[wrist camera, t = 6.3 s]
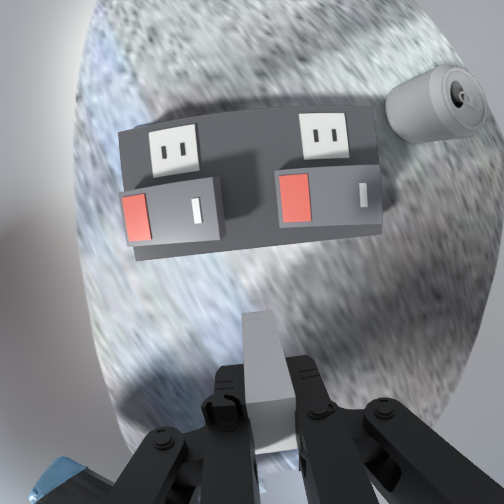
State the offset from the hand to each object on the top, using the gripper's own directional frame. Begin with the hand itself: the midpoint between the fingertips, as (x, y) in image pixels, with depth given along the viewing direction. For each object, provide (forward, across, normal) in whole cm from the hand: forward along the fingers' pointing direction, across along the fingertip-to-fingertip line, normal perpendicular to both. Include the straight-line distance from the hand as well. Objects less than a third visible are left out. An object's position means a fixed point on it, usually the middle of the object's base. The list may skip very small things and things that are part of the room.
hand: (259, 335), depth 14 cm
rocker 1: (+13, +6, -6) cm, 15 cm away
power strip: (+19, -1, -8) cm, 21 cm away
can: (+19, -21, -15) cm, 32 cm away
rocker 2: (+13, -8, -6) cm, 16 cm away
